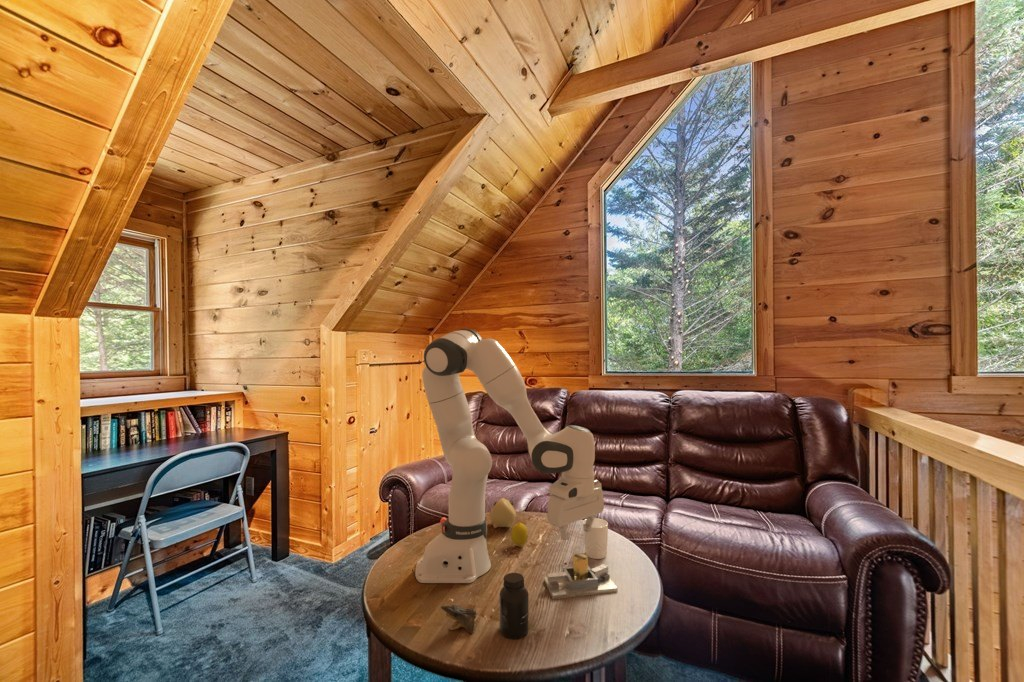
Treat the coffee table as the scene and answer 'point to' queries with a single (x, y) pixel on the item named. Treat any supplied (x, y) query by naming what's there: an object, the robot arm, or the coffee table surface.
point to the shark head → (461, 617)
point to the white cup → (596, 539)
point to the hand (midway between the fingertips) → (576, 535)
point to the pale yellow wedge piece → (502, 513)
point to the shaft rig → (579, 583)
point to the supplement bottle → (514, 607)
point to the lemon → (519, 534)
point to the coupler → (580, 566)
